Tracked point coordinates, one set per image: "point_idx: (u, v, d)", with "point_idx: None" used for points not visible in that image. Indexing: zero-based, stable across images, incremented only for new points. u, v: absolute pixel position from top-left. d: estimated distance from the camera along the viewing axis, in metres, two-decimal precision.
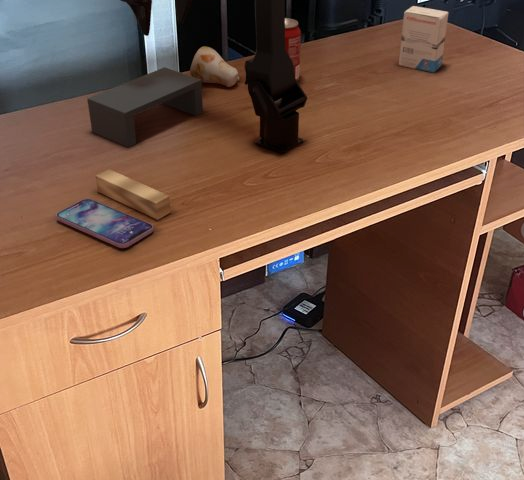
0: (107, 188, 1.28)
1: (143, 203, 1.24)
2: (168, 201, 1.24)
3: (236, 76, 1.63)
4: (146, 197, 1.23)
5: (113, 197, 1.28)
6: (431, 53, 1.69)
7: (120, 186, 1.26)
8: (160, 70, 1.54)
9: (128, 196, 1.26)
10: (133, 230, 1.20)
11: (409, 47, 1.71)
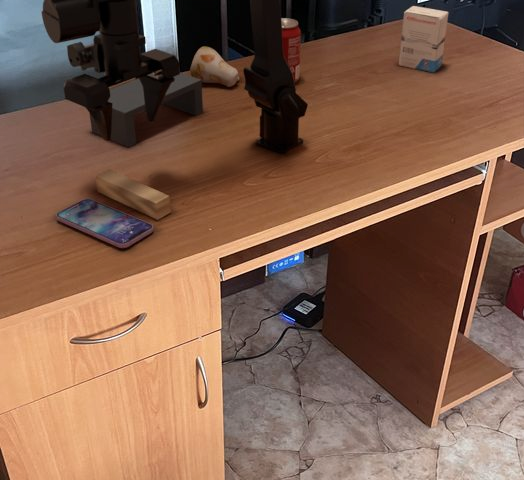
0: (107, 188, 1.28)
1: (143, 203, 1.24)
2: (168, 201, 1.24)
3: (236, 76, 1.63)
4: (146, 197, 1.23)
5: (113, 197, 1.28)
6: (431, 53, 1.69)
7: (120, 186, 1.26)
8: None
9: (128, 196, 1.26)
10: (133, 230, 1.20)
11: (409, 47, 1.71)
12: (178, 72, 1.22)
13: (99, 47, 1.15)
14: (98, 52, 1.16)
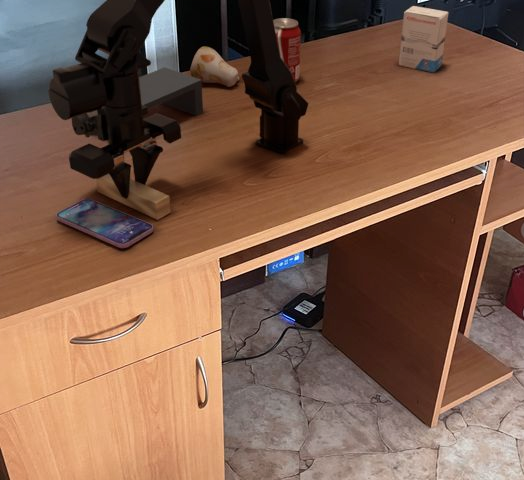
0: (107, 188, 1.28)
1: (143, 203, 1.24)
2: (168, 201, 1.24)
3: (236, 76, 1.63)
4: (146, 197, 1.23)
5: (113, 197, 1.28)
6: (431, 53, 1.69)
7: None
8: (160, 70, 1.54)
9: (128, 196, 1.26)
10: (133, 230, 1.20)
11: (409, 47, 1.71)
12: (179, 136, 1.26)
13: (103, 117, 1.19)
14: (102, 122, 1.19)
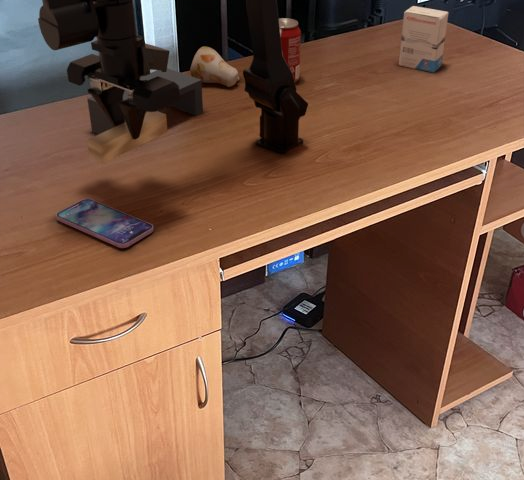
0: None
1: None
2: (99, 150, 1.17)
3: (236, 76, 1.63)
4: (100, 134, 1.19)
5: None
6: (431, 53, 1.69)
7: None
8: (160, 70, 1.54)
9: None
10: (133, 230, 1.20)
11: (409, 47, 1.71)
12: (148, 109, 1.11)
13: None
14: None
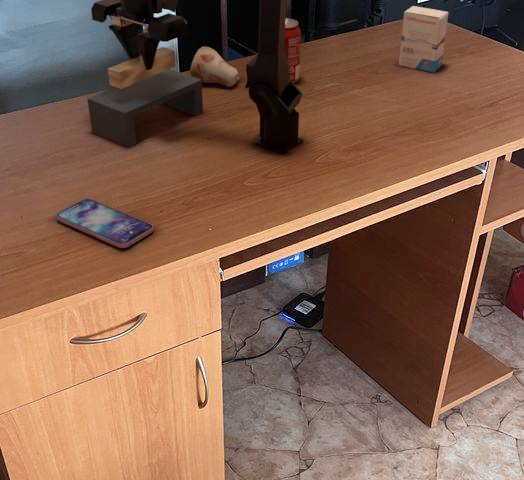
0: None
1: None
2: (118, 76, 1.38)
3: (236, 76, 1.63)
4: (118, 64, 1.40)
5: None
6: (431, 53, 1.69)
7: None
8: None
9: None
10: (133, 230, 1.20)
11: (409, 47, 1.71)
12: (161, 39, 1.33)
13: None
14: None
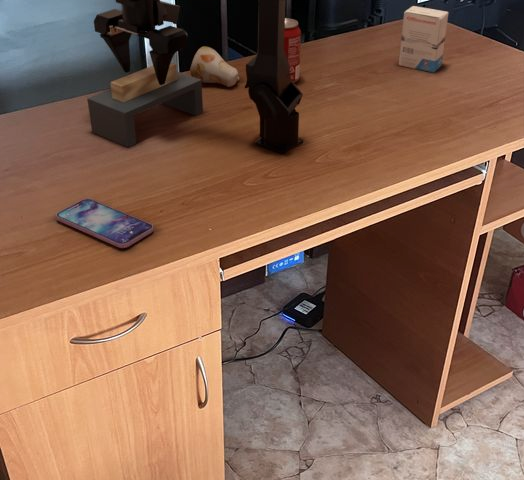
0: None
1: None
2: (121, 90, 1.41)
3: (236, 76, 1.63)
4: (121, 78, 1.43)
5: None
6: (431, 53, 1.69)
7: (143, 69, 1.46)
8: None
9: None
10: (133, 230, 1.20)
11: (409, 47, 1.71)
12: (162, 51, 1.35)
13: None
14: None
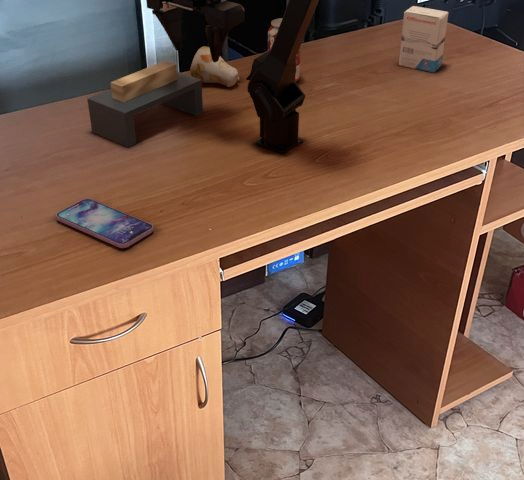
0: None
1: None
2: (121, 90, 1.41)
3: (236, 76, 1.63)
4: (121, 78, 1.43)
5: None
6: (431, 53, 1.69)
7: (143, 69, 1.46)
8: None
9: None
10: (133, 230, 1.20)
11: (409, 47, 1.71)
12: (219, 26, 1.32)
13: None
14: None
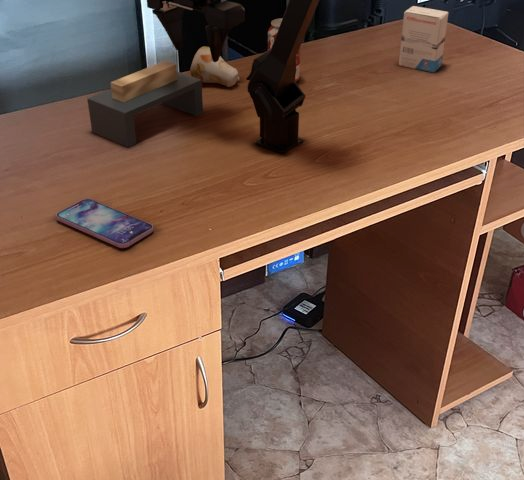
0: None
1: None
2: (121, 90, 1.41)
3: (236, 76, 1.63)
4: (121, 78, 1.43)
5: None
6: (431, 53, 1.69)
7: (143, 69, 1.46)
8: None
9: None
10: (133, 230, 1.20)
11: (409, 47, 1.71)
12: (219, 26, 1.32)
13: None
14: None
